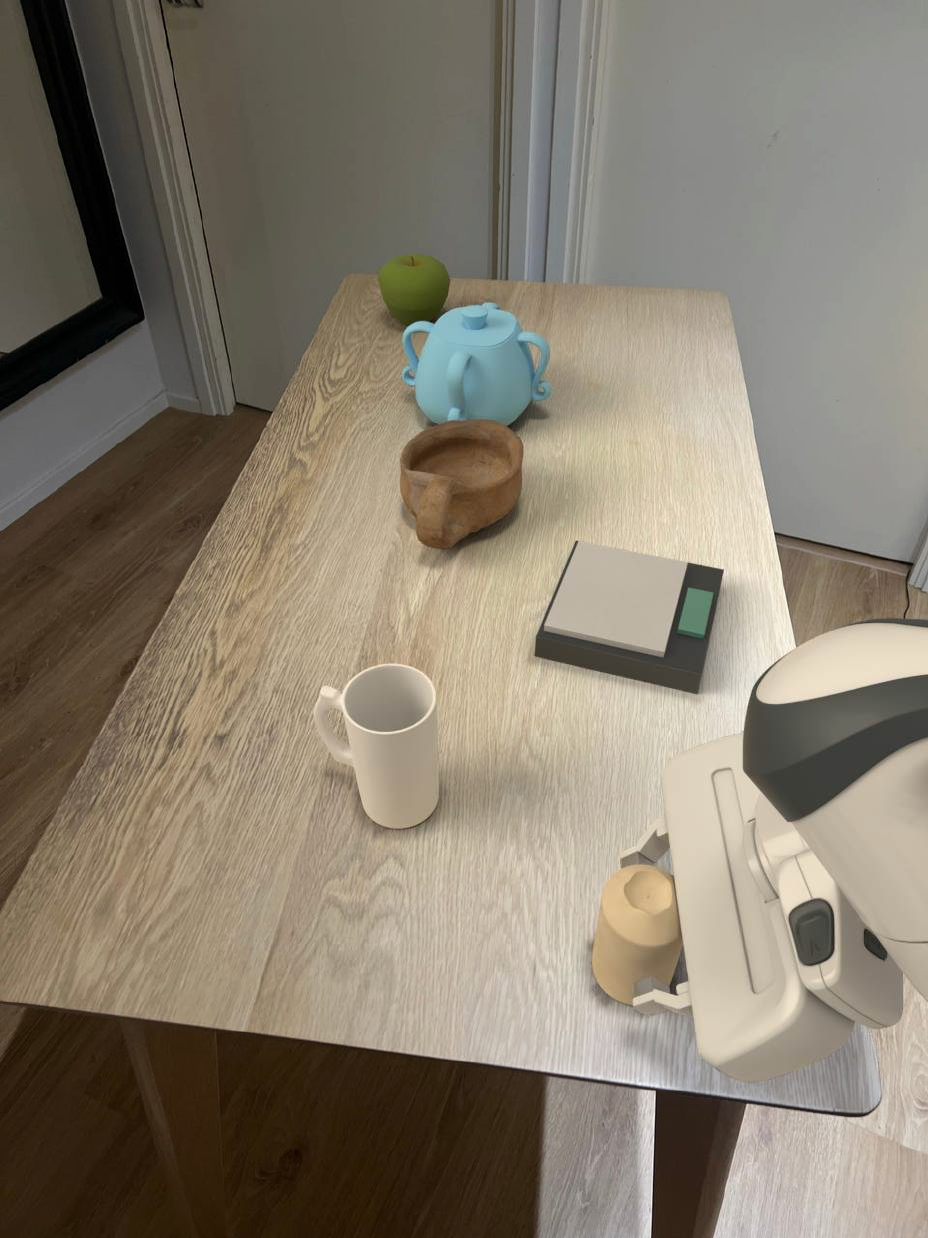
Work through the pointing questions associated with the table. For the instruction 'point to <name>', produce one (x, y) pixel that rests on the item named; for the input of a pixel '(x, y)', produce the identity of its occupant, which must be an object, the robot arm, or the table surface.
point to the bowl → (460, 478)
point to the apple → (414, 287)
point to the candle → (636, 930)
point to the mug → (387, 741)
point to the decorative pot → (475, 366)
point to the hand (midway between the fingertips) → (631, 931)
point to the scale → (632, 616)
